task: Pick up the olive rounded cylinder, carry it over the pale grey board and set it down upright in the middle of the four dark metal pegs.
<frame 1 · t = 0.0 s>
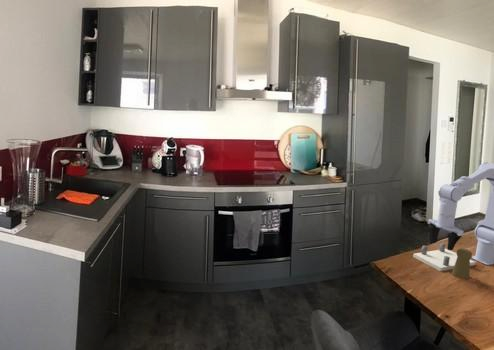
hand: (441, 246, 135), 10 cm above the table, tool pointing down, fingers open, 7 cm apart
peg board: (443, 260, 145), on the table
olive rounded cylinder: (460, 275, 132), on the table
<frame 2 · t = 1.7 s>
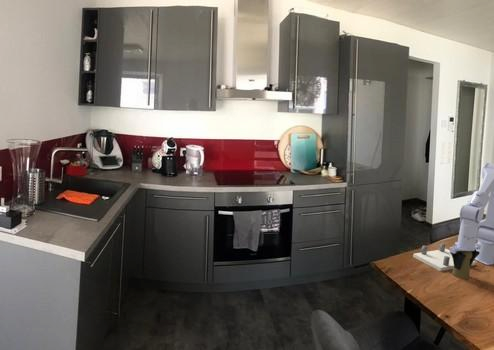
hand: (461, 267, 132), 3 cm above the table, tool pointing down, fingers closed on olive rounded cylinder, 5 cm apart
olive rounded cylinder: (460, 275, 132), on the table, touching gripper
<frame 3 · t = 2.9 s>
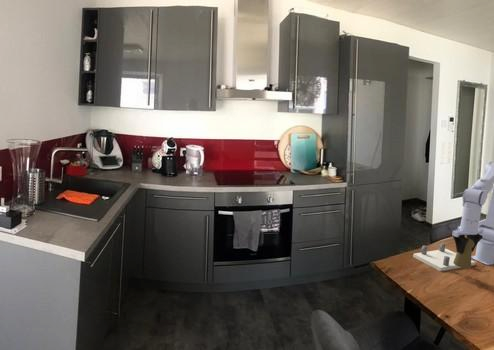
hand: (464, 251, 130), 10 cm above the table, tool pointing down, fingers closed on olive rounded cylinder, 5 cm apart
olive rounded cylinder: (461, 265, 131), point 4 cm above the table, touching gripper
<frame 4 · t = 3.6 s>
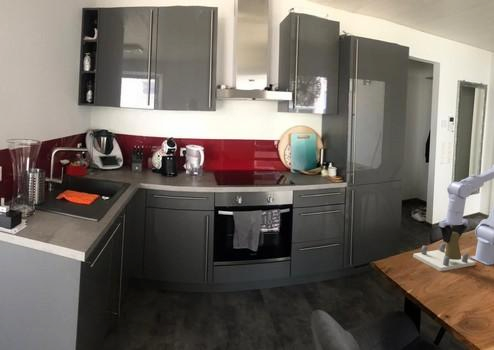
hand: (450, 241, 140), 10 cm above the table, tool pointing down, fingers closed on olive rounded cylinder, 5 cm apart
olive rounded cylinder: (453, 258, 139), point 4 cm above the table, touching gripper
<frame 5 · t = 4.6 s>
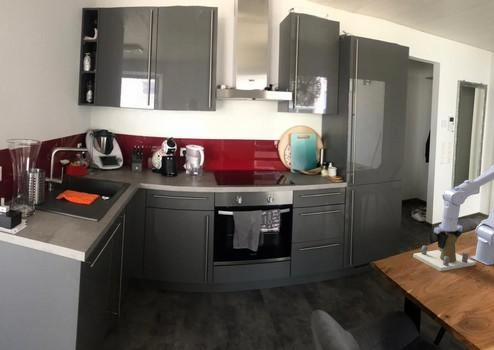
hand: (445, 247, 144), 6 cm above the table, tool pointing down, fingers closed on olive rounded cylinder, 5 cm apart
olive rounded cylinder: (447, 259, 143), point 2 cm above the table, touching gripper, peg board
when the fingers open (6 cm above the table, at t = 5.1 s): olive rounded cylinder stays where it is, resting on peg board.
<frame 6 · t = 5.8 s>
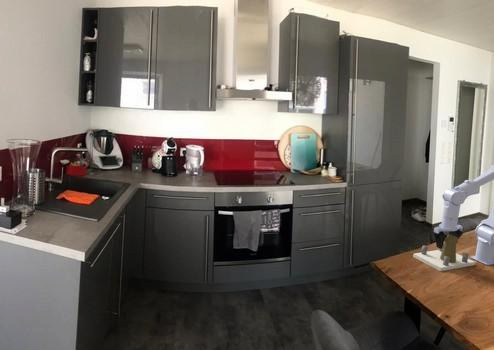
hand: (445, 246, 144), 7 cm above the table, tool pointing down, fingers open, 7 cm apart
olive rounded cylinder: (447, 260, 143), point 1 cm above the table, touching peg board
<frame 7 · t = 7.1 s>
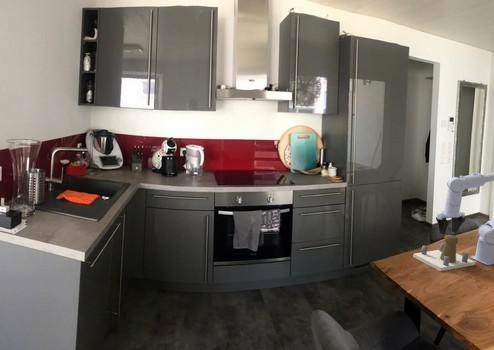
hand: (448, 232, 150), 10 cm above the table, tool pointing down, fingers open, 7 cm apart
nothing on the table moved.
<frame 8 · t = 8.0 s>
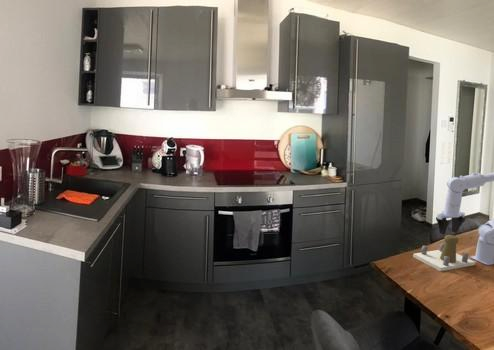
hand: (448, 232, 150), 10 cm above the table, tool pointing down, fingers open, 7 cm apart
nothing on the table moved.
at the end: olive rounded cylinder 2.1 cm off-centre on the peg board, point 1.3 cm above the peg board's base; olive rounded cylinder tilted 0°; the gripper is holding nothing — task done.
